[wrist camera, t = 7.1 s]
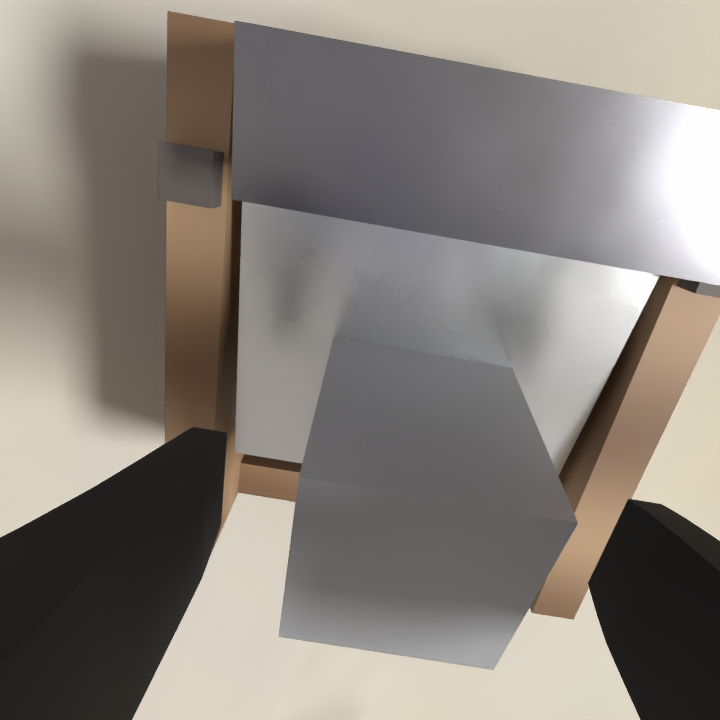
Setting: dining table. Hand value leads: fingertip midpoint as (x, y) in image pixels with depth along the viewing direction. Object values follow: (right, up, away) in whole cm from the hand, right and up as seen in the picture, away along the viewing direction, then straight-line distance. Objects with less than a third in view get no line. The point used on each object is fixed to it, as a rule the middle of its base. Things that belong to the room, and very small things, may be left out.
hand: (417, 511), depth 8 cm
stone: (0, +1, +3) cm, 4 cm away
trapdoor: (+1, +4, +3) cm, 5 cm away
